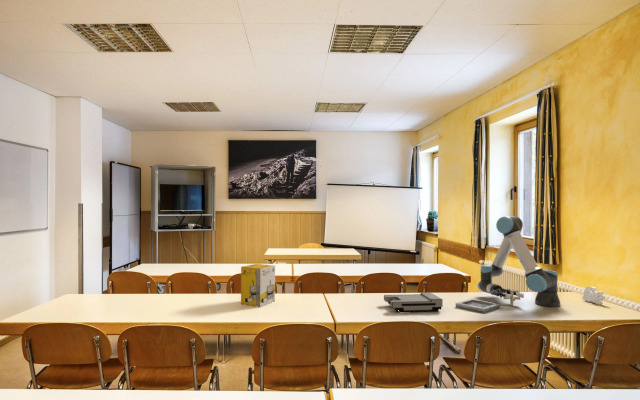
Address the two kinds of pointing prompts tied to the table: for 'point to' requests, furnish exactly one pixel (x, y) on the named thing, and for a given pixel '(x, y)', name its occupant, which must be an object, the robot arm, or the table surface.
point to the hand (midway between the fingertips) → (516, 296)
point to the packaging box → (257, 284)
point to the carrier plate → (478, 305)
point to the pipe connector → (512, 298)
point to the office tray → (415, 302)
